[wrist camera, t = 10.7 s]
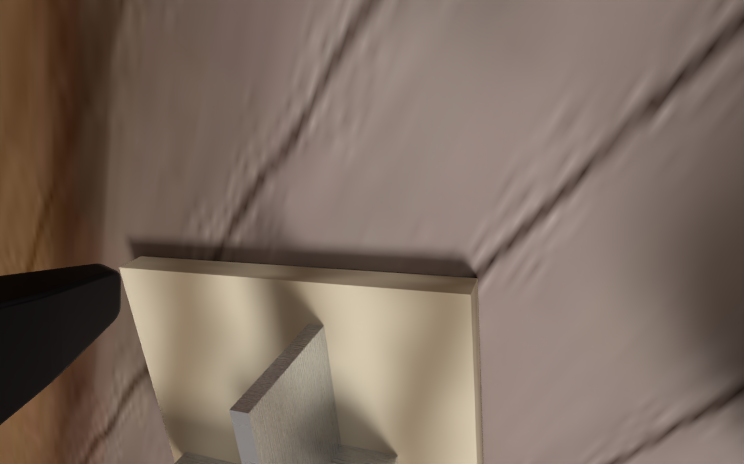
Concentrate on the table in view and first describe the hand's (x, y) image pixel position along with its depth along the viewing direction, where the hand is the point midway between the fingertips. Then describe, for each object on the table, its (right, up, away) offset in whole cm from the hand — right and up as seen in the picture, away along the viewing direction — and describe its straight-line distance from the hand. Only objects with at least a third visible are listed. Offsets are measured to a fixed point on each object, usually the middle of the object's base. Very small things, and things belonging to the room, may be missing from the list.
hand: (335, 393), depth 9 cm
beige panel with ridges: (-3, -8, +19) cm, 21 cm away
